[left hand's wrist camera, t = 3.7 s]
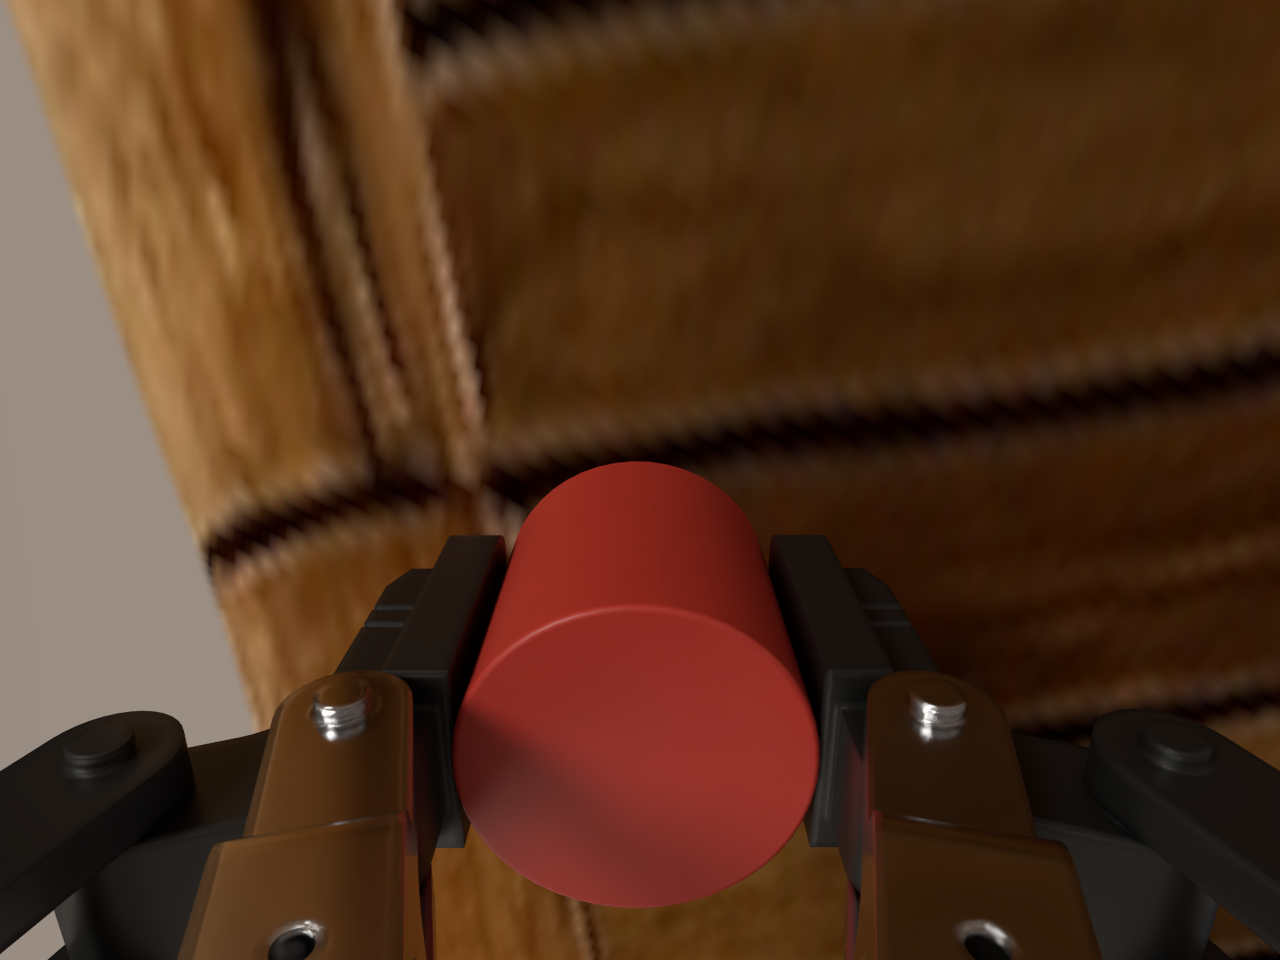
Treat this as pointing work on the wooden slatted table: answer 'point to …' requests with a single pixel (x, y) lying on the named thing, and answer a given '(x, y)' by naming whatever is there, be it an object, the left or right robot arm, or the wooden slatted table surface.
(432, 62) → the wooden slatted table surface
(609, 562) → the canister
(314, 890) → the left robot arm
